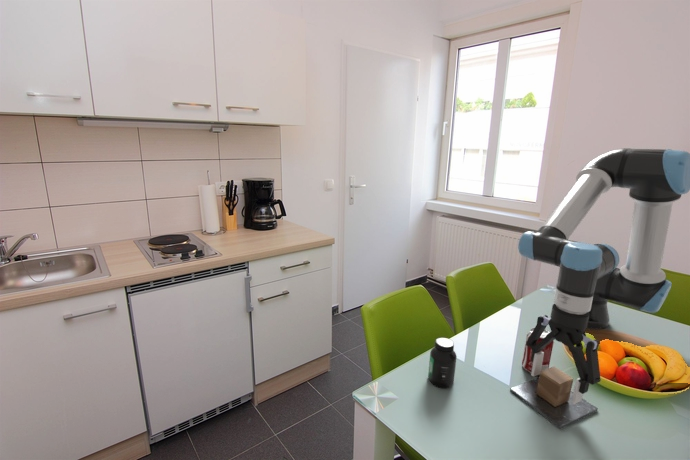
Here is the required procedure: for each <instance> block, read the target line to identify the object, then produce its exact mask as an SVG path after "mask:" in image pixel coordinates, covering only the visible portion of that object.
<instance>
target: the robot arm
mask: <svg viewBox="0 0 690 460" xmlns="http://www.w3.org/2000/svg"><path fill="white" fill-rule="evenodd" d="M611 188H622V189H629V193H628V196H629V198H631V200H633V201H634V203H633V209H632V210H633V212H632V220H631V226H630V233H629V241H628V248H627V257H626V263H625V264H624V265H621V266H620V268H618V266H619V264H620V254H619V252H618V251H617V250H616V249H615V248H614V247H613V246H611V245H609V244H606V243H595V244H591V243H587V242H581V241H580V242H579V241H575V240H571V239H570V238H571V236H572V235H573V234H574V233H575V231H576V229H577V228H578V227H579V225H580V224H581V222H582V221H583V219H584V218H586V216H587V214H588V213H589V211H590V210H591V209H592V208H593V206H594V205H595V204H596V202H597V201H598V199H600V197H601V195H603V194H605V193H607V192H608V191H610V190H611ZM689 192H690V152H688V151H685V150H675V149H671V148H670V149H669V148H668V149H667V148H666V149H660V148H659V149H658V148H655V149H653V148H617V149H613V150H610V151H607V152H605V153H603V154H601V155H599V156H596V157H595V158H593V159H592V160H590V162H588V163H586V164H585V165H584V166H583V167H582V168H581V170H580V171H579V172H577V175H576V178H575V183H574V184H573V186H572V187H571V188H570V189H569V190H568V192H567V193H566V195H565V196H564V197H563V198H562V199H561V201H560V202H559V203H558V205H557V206H556V207H555V208H554V210H553V211H552V212H551V213H550V215H549V217H547V219H546V220H545V221H544V223H543V224H542V225H541V227H540V228H539V229H538V230H537V231H534V230H533V231H530V230H529V231H525V232H523V233H522V235H521V236H520V238H519V240H518V246H517V248H518V253H519V254H520V256H522V257H524V258H528V259H529V260H533V261H537V262H541V263H544V264H549V265H551V266H556V267H558V269H559V270H558V275H557V282H556V285H555V291H554V296H553V304H552V307H551V312H550V317H549V316H548V315H546V314H543V315H540V316H538V317H537V320H536V325H535V326H534V327H533V328H534V330H533V332H532V333H531V335H530V337H529V339H528V340H527V342H526V341H525V343H526V345H527V346H528V347H530V348H531V349H532V356H531V361H532V362H533V366H532V372H531V373H530V376H532V377H536V376H540V375H539V374H540V371H541V368H542V362H543V357H544V352H542V351H541V352H540V350H543V348H545V347H546V346H547V345H548V344H550V343H551V342H552V341H554V340H555V341H557V342H559V343H562V344H563V345H564V346H566V347H567V348H568V351H569V352H570V353H571V356H572V357H573V358H572V359H573V361H574V364H575V367H576V371H577V373H578V376H579V377H577V378H576V379H575V382H574V387H573V391H572V392H573V396H572V400H571V402H572V403H573V404H576V403H578V402H580V401H581V400H582V398H583V395H584V394H586V393H588V391H589V387H590V385H593V386H594V385H595V384H598V383H600V382H601V381H602V380H601V379H602V378H601V373H600V372H601V370H600V364H599V363H600V362H599V353H598V348H599V346H600V341H599V340H598V339H592V338H590V337H589V336H587V334H586V329H595V330H597V329H598V330H601V329H606V328H608V326H609V324H610V315H609V314H610V313H609V310H608V309H609V308H608V301H610V302H614V303H616V304H620V305H623V306H625V307H626V306H627V307H630V308H633V309H635V310H637V311H643V312H647V313H650V314H656V313H657V312H658V311H660V309H661V307H662V305H663V304H664V303H665V300H666V299H667V297H668V294H669V292H670V291H671V287H672V282H671V281H670V280H668V279H666V277H667V276H666V275H667V274H666V273H665V271H664V270H663V269H661V268H662V263H663V258H664V253H665V252H664V251H665V248H666V247H665V246H666V242H667V235H668V231H669V230H668V229H669V226H670V225H669V224H670V219H671V213H672V208H673V204H674V203H675V202H677V201H679V200H680V199H681V198H682V195H685V194H688V193H689ZM547 326H549V329H550V331H549V332H550V333H549V334H548V335H546V337H545V338H544V339H542V340H541V341H540V342H539V343H537V341H538V340H539V338H540V336H541V335H542V333H543V331H544V330H546V328H547ZM582 342H583V343H584V345H583V343H582ZM536 343H537V344H536ZM584 348H585V354H584V350H583V349H584Z"/></svg>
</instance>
